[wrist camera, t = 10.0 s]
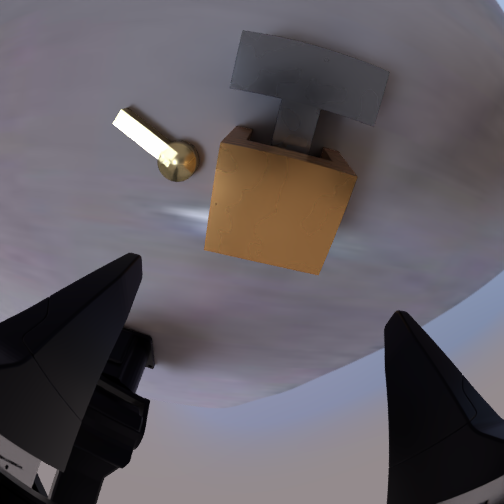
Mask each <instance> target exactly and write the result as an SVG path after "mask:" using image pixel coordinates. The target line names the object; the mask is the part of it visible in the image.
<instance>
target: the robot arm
mask: <svg viewBox="0 0 504 504" xmlns="http://www.w3.org/2000/svg"><path fill="white" fill-rule="evenodd" d="M141 280H142V258H141V256H140V255H138V254H134V253H128V254H126V255H124V256H122V257H120V258H118V259H116V260H114V261H112V262H110V263H108V264H107V265H105V266H103V267H101V268H99V269H97V270H95V271H94V272H92V273H90V274H88V275H86V276H84V277H83V278H81V279H79V280H77V281H75V282H74V283H72V284H70V285H68V286H67V287H65V288H63V289H61V290H60V291H58V292H56V293H54V294H53V295H51V296H50V297H47V298H46V299H44V300H42V301H41V302H39V303H37V304H35V305H33V306H32V307H30V308H28V309H26V310H24V311H22V312H20V313H19V314H17V315H15V316H13V317H11V318H9V319H7V320H5V321H3V322H1V323H0V504H96V503H97V500H98V496H99V492H100V490H101V486H102V483H103V480H104V478H105V477H106V476H108V475H109V474H111V473H112V472H114V471H115V470H117V469H118V468H124V467H125V466H126V465H127V464H128V463H129V462H130V459H131V455H132V452H133V450H134V449H136V448H137V447H138V446H139V444H140V442H141V440H142V438H143V435H144V432H145V427H146V421H147V415H148V409H149V404H150V400H148V399H146V398H143V397H141V396H139V395H137V394H135V393H136V390H137V387H138V384H139V382H140V379H141V376H142V374H143V371H144V369H145V367H148V368H151V369H153V368H154V366H155V363H154V355H153V346H152V339H151V337H150V336H147V335H144V334H141V333H138V332H134V331H131V330H128V329H125V328H123V326H124V324H125V322H126V320H127V317H128V315H129V312H130V310H131V307H132V304H133V301H134V299H135V296H136V293H137V291H138V288H139V285H140V283H141ZM384 342H385V374H386V387H387V400H388V420H389V475H388V495H387V504H504V420H503V419H502V418H501V417H500V416H499V415H498V414H497V413H496V412H495V411H494V410H493V409H492V408H491V407H490V405H489V404H488V403H487V402H486V401H485V400H484V399H483V398H482V397H481V395H480V394H479V393H478V392H477V391H476V390H475V389H474V387H473V386H472V385H471V384H470V383H469V382H468V380H467V379H466V378H465V377H464V376H463V375H462V373H461V372H460V371H459V370H458V368H457V367H456V366H455V365H454V364H453V363H452V361H451V360H450V359H449V358H448V357H447V356H446V355H445V353H444V352H443V351H442V350H441V349H440V348H439V346H437V344H436V343H435V342H434V341H433V340H432V339H431V338H430V336H429V335H428V334H427V333H426V332H425V331H424V330H423V329H422V328H421V327H420V325H419V324H418V323H417V322H416V321H415V320H414V319H413V318H412V317H411V316H410V315H409V314H408V313H407V312H405V311H400V310H397V311H396V312H395V313H394V314H393V315H392V317H391V318H390V320H389V321H388V323H387V324H386V326H385V329H384ZM41 461H43V462H45V463H46V464H48V465H51V466H52V467H54V468H56V469H57V472H56V474H55V477H54V480H53V483H52V486H51V489H50V493H49V496H47V494H46V491H45V489H44V487H43V485H42V483H41V481H40V478H39V476H38V474H37V470H38V467H39V465H40V462H41Z"/></svg>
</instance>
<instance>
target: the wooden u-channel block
mask: <svg viewBox="0 0 504 504" xmlns="http://www.w3.org/2000/svg"><path fill="white" fill-rule="evenodd" d="M251 134H252V129H249V128H244V127H239V126H236V127H235V128H234V129H233V130H232V131H231V132H230V133H229V134H228V135H227V136H226V137H225V138H224V139H223V140H222V142H221V143H220V149H219V155H218V160H217V166H216V172H215V179H214V185H213V191H212V198H211V204H210V211H209V218H208V225H207V232H206V239H205V247H204V250H207V251H211V252H215V253H220V254H224V255H229V256H233V257H238V258H242V259H247V260H251V261H256V262H260V263H265V264H269V265H274V266H278V267H283V268H287V269H292V270H296V271H301V272H306V273H310V274H315V275H319V273H320V271H321V268H322V266H323V264H324V261H325V259H326V257H327V254H328V252H329V249H330V247H331V245H332V242H333V240H334V237H335V235H336V232H337V230H338V227H339V225H340V222H341V220H342V217H343V214H344V212H345V209H346V207H347V204H348V201H349V199H350V196H351V193H352V191H353V188H354V185H355V182H356V180H357V176H356V174H355V173H354V171H353V170H352V169H351V167H350V166H349V165H348V163H347V162H346V161H345V159H344V158H343V157H342V155H341V154H340V153H339V152H338V151H335V150H332V149H329V148H325V147H323V150H322V154H321V157H320V158H317V157H314V156H310V155H306V154H302V153H299V152H295V151H291V150H287V149H283V148H279V147H275V146H270V145H266V144H261V143H257V142H252V141H250V138H251Z"/></svg>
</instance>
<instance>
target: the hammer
mask: <svg viewBox="0 0 504 504" xmlns="http://www.w3.org/2000/svg"><path fill="white" fill-rule="evenodd" d="M388 76H389V71H386V70H384V69H382V68H379V67H377V66H374V65H372V64H369V63H367V62H364V61H361V60H359V59H356V58H353V57H350V56H347V55H344V54H341V53H338V52H335V51H332V50H329V49H326V48H322V47H319V46H315V45H311V44H308V43H304V42H300V41H296V40H292V39H287V38H283V37H278V36H273V35H268V34H262V33H256V32H250V31H244V30H243V31H242V35H241V39H240V43H239V48H238V52H237V57H236V61H235V66H234V70H233V75H232V80H231V84H230V88H231V89H237V90H243V91H248V92H254V93H259V94H264V95H268V96H273V97H277V98H281V99H282V101H281V105H280V109H279V113H278V117H277V121H276V125H275V129H274V134H273V138H272V142H271V146H275V147H279V148H283V149H287V150H291V151H295V152H299V153H302V154H306V155H308V153H309V149H310V146H311V142H312V139H313V135H314V132H315V128H316V124H317V121H318V117H319V114H320V110H321V109H323V110H326V111H329V112H333V113H336V114H339V115H342V116H345V117H348V118H351V119H354V120H357V121H360V122H362V123H365V124H368V125H371V126H373V127H374V124H375V121H376V118H377V114H378V111H379V108H380V104H381V101H382V97H383V94H384V91H385V87H386V83H387V80H388Z"/></svg>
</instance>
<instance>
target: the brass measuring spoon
mask: <svg viewBox="0 0 504 504" xmlns="http://www.w3.org/2000/svg"><path fill="white" fill-rule="evenodd" d="M113 124H114V125H115V126H116V127H117V128H119V129H120V130H121V131H122V132H124V133H125V134H126V135H128V136H129V137H130V138H131V139H133V140H134V141H135V142H137V143H138V144H139V145H140V146H142V147H143V148H144V149H145V150H147V151H148V152H149V153H151V154H152V155H153V156H154V157H156V158H157V159H158V161H157V163H158V168H159V170H160V172H161V174H162V175H163V176H164V177H165V178H167V179H169V180H171V181H174V182H181V181H184V180H187V179H188V178H189V177H190V176H191V175H192V174H193V173H194V172H195V171H196V169H197V167H198V165H199V155H198V152H197V150H196V149H195V147H194V146H193V145H191V144H190V143H188V142H186V141H174V142H171V141H170V140H169V139H168V138H166V137H165V136H164V135H163V134H161V133H160V132H159V131H157V130H156V129H155V128H154V127H152V126H151V125H150V124H148V123H147V122H146V121H144V120H143V119H142V118H141V117H139V116H138V115H137V114H135V113H134V112H133V111H131V110H130V109H129V108H124V109H121V110H120V112H119V114H118V115H117V117H116V119H115V120H114V122H113Z"/></svg>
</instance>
